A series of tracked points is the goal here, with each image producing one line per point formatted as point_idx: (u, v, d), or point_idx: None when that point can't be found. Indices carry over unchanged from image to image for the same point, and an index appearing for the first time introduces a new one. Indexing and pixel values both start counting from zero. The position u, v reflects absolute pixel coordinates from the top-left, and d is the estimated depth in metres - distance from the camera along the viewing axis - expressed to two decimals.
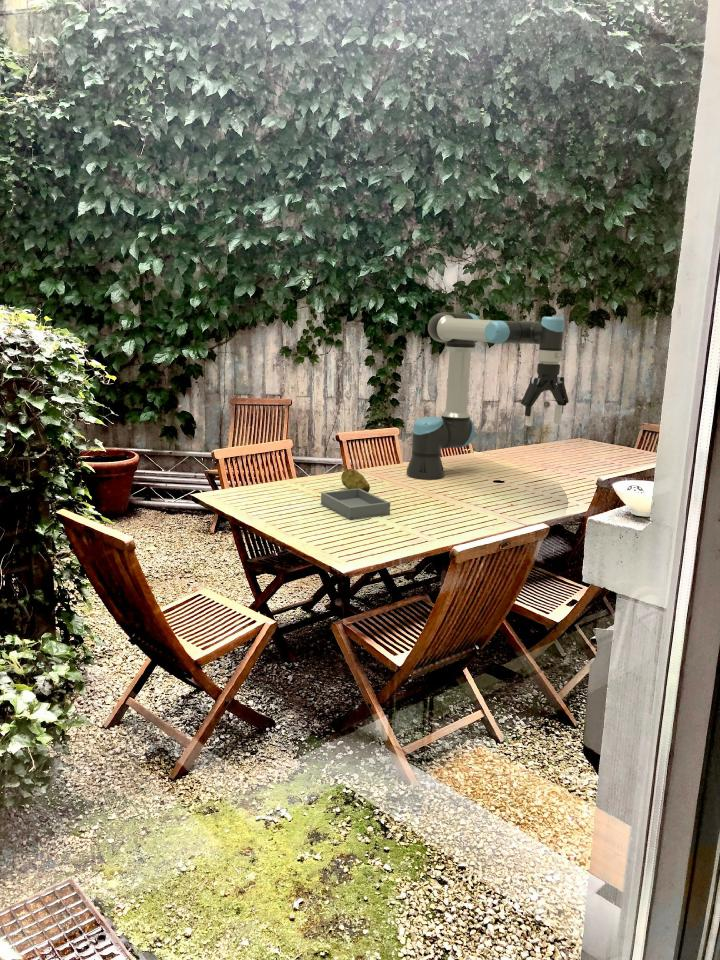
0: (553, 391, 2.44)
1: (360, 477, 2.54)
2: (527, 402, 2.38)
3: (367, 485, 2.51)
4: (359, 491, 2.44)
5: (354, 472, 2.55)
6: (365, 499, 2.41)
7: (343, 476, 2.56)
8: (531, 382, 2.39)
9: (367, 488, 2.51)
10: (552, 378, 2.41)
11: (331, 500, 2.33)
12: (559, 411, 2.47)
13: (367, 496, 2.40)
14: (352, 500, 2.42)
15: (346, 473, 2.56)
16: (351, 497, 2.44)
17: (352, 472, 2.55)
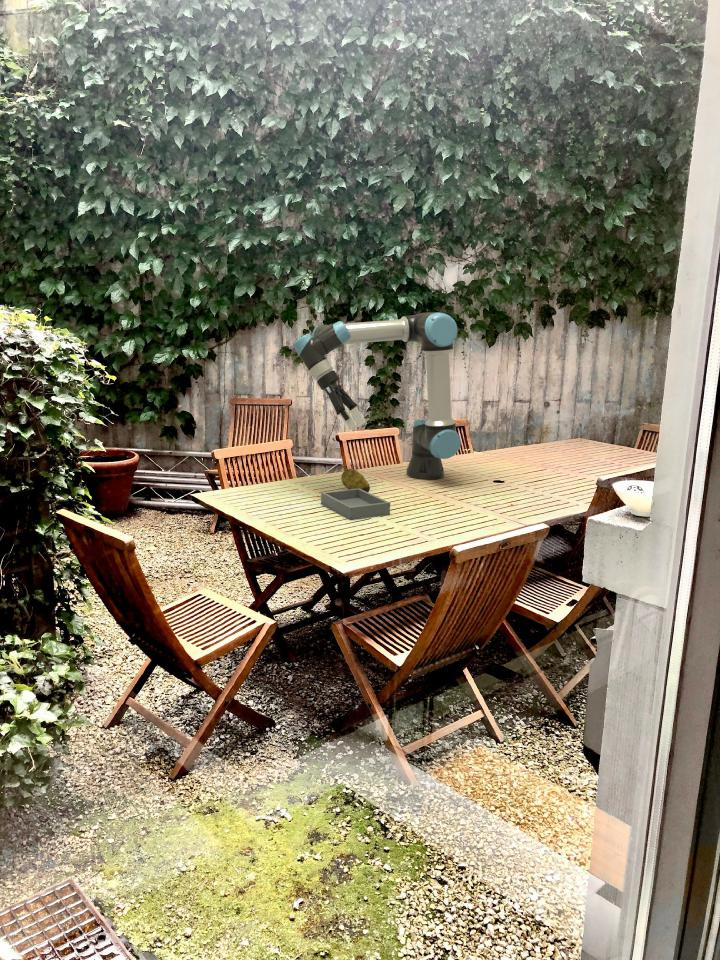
0: None
1: (360, 477, 2.54)
2: None
3: (367, 485, 2.51)
4: (359, 491, 2.44)
5: (354, 472, 2.55)
6: (365, 499, 2.41)
7: (343, 476, 2.56)
8: None
9: (367, 488, 2.51)
10: None
11: (331, 500, 2.33)
12: None
13: (367, 496, 2.40)
14: (352, 500, 2.42)
15: (346, 473, 2.56)
16: (351, 497, 2.44)
17: (352, 472, 2.55)
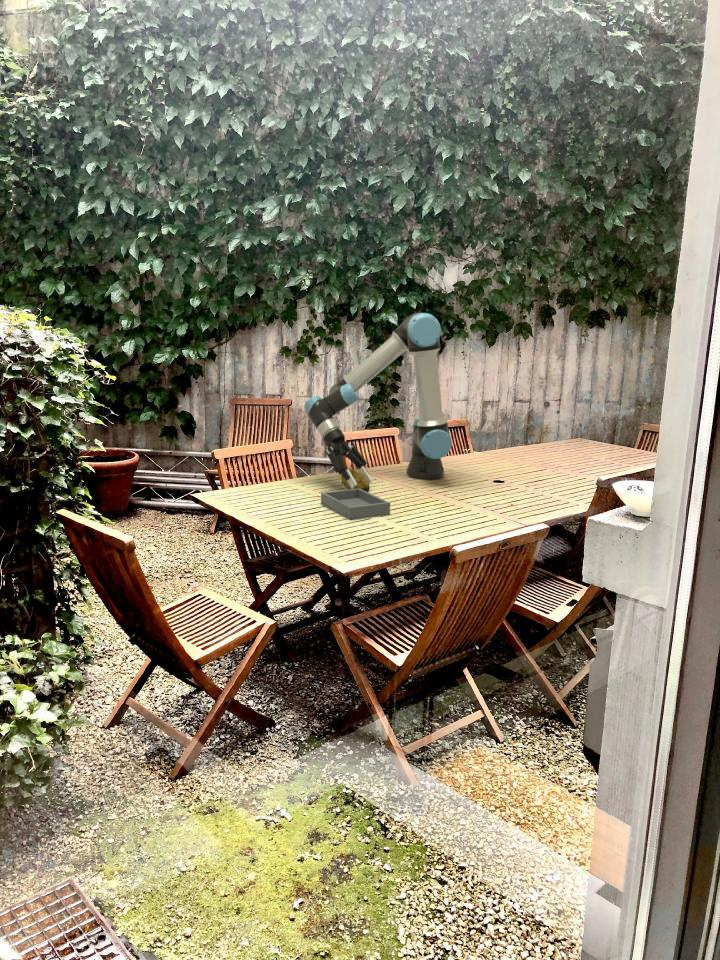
0: None
1: (360, 477, 2.54)
2: None
3: (367, 485, 2.51)
4: (359, 491, 2.44)
5: (354, 472, 2.55)
6: (365, 499, 2.41)
7: None
8: None
9: (367, 488, 2.51)
10: None
11: (331, 500, 2.33)
12: None
13: (367, 496, 2.40)
14: (352, 500, 2.42)
15: None
16: (351, 497, 2.44)
17: (352, 472, 2.55)
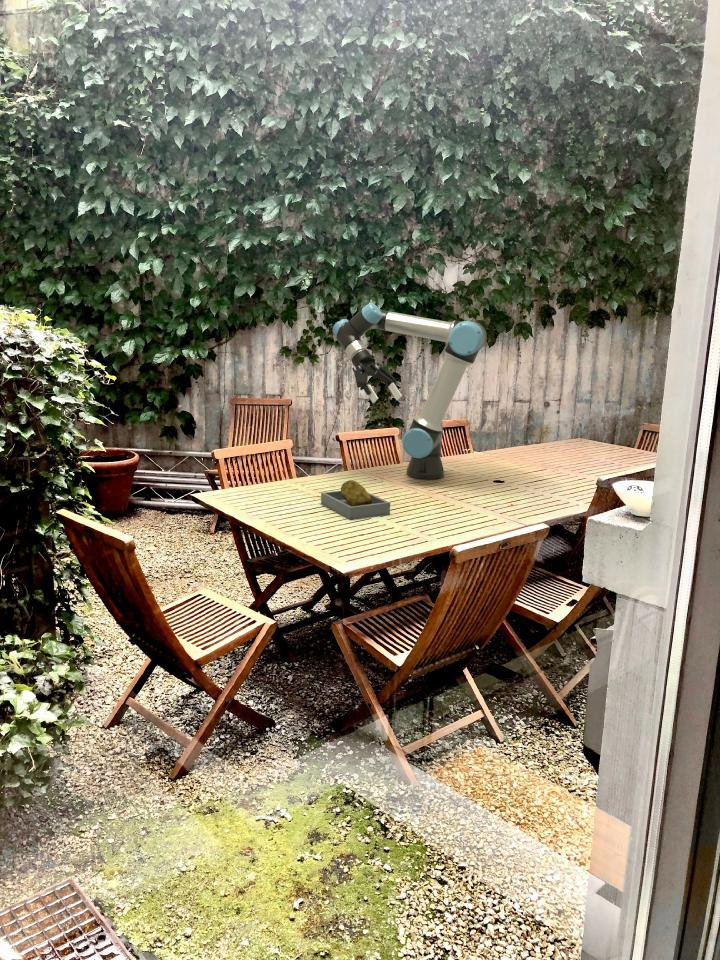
0: None
1: (361, 490, 2.33)
2: None
3: (369, 498, 2.30)
4: None
5: (355, 484, 2.34)
6: None
7: (343, 488, 2.35)
8: None
9: (369, 502, 2.30)
10: None
11: (331, 500, 2.33)
12: None
13: None
14: None
15: (346, 485, 2.34)
16: None
17: (352, 484, 2.34)
